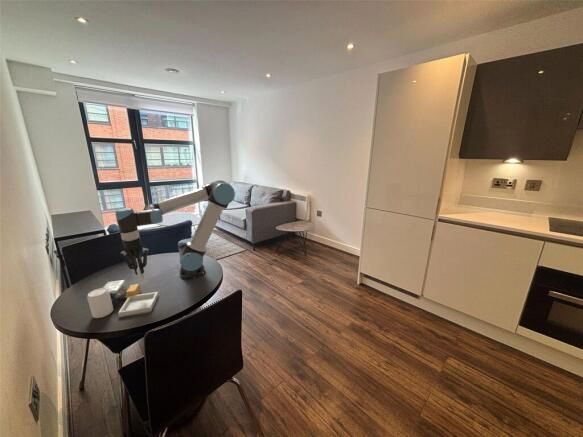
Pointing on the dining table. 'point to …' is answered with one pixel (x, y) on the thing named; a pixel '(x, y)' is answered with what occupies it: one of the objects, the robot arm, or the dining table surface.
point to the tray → (138, 304)
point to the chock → (133, 290)
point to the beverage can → (100, 302)
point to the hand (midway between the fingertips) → (141, 278)
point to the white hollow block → (116, 290)
